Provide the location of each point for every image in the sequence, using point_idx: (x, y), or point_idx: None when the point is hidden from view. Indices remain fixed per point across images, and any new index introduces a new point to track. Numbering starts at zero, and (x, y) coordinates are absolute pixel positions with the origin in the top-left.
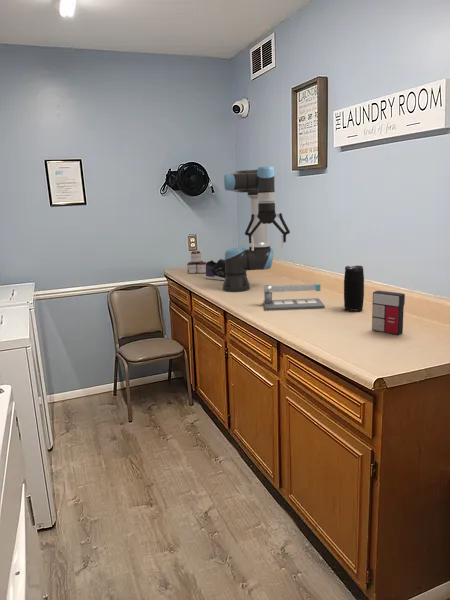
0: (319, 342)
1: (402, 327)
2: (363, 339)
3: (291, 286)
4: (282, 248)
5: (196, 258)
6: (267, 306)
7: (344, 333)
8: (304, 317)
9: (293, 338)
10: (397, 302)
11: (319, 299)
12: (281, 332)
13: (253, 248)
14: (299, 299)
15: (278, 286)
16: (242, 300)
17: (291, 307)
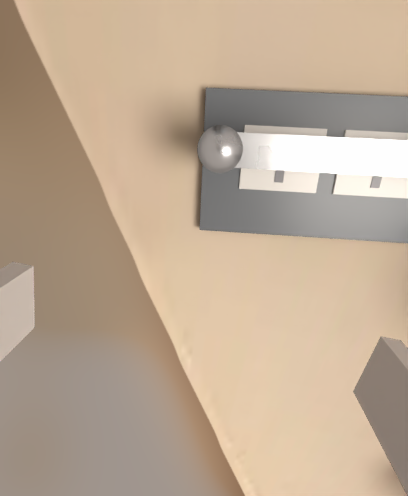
0: (273, 486)
1: None
2: (361, 489)
3: (341, 173)
4: (370, 410)
5: None
6: (209, 208)
7: (344, 456)
8: (302, 329)
9: (230, 460)
10: None
11: None
12: (213, 426)
13: (18, 315)
14: (369, 106)
15: (274, 161)
16: (113, 9)
17: (293, 235)
